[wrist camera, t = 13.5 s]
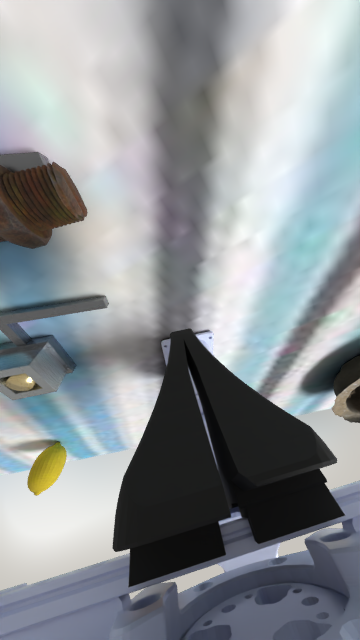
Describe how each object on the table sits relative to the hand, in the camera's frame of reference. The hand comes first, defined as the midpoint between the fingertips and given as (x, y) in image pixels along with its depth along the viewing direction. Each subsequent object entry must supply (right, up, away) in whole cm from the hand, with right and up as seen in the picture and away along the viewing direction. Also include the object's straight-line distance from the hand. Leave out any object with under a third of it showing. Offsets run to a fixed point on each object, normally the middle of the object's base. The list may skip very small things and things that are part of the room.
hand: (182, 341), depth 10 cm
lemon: (-28, -27, +24) cm, 46 cm away
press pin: (-19, -4, +9) cm, 21 cm away
